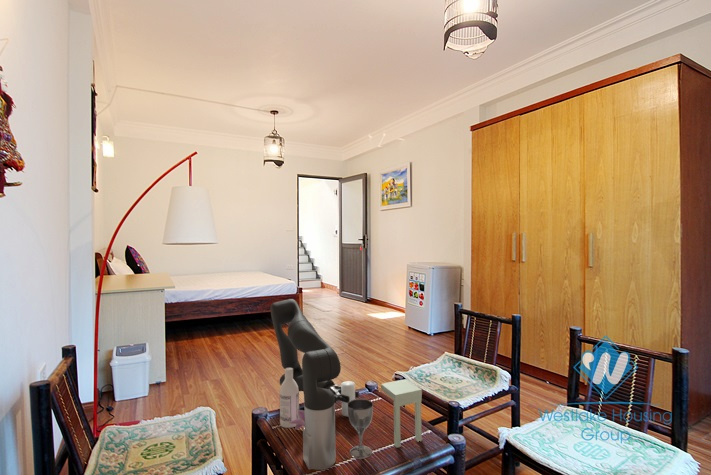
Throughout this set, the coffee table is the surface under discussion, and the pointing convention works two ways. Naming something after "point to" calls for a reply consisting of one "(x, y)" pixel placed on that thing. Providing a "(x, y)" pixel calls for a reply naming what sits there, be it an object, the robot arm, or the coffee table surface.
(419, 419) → the small green stool
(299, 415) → the lily
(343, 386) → the white plastic cylinder
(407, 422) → the coffee table surface
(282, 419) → the bath foam
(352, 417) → the wine glass
